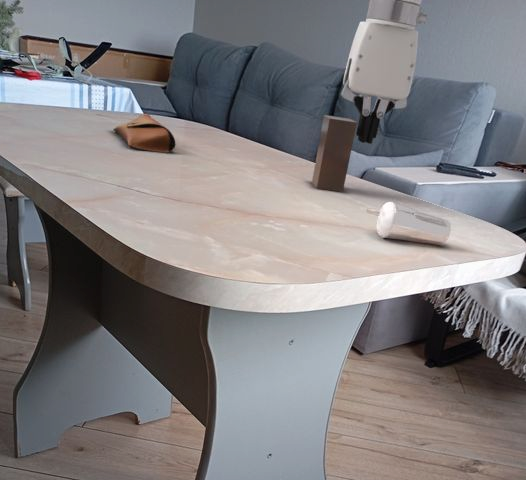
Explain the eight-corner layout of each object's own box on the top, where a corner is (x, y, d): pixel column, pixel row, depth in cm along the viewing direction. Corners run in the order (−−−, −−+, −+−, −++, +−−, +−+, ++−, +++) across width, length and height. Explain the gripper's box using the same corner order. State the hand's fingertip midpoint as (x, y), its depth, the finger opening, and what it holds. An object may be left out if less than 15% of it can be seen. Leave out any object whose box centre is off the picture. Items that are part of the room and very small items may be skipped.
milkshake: (443, 209, 82) (372, 193, 80) (457, 220, 77) (382, 203, 75) (431, 242, 84) (361, 226, 82) (444, 254, 79) (370, 238, 77)
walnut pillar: (337, 186, 106) (350, 118, 101) (342, 192, 102) (357, 122, 97) (311, 182, 105) (324, 114, 100) (316, 188, 101) (329, 118, 96)
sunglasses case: (109, 127, 121) (128, 99, 120) (139, 149, 125) (157, 121, 124) (128, 146, 107) (150, 113, 106) (161, 169, 111) (182, 138, 110)
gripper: (430, 25, 97) (400, 144, 106) (339, 8, 95) (316, 131, 103) (447, 24, 91) (414, 152, 99) (350, 6, 88) (325, 138, 96)
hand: (364, 141), depth 101 cm, fingers closed
